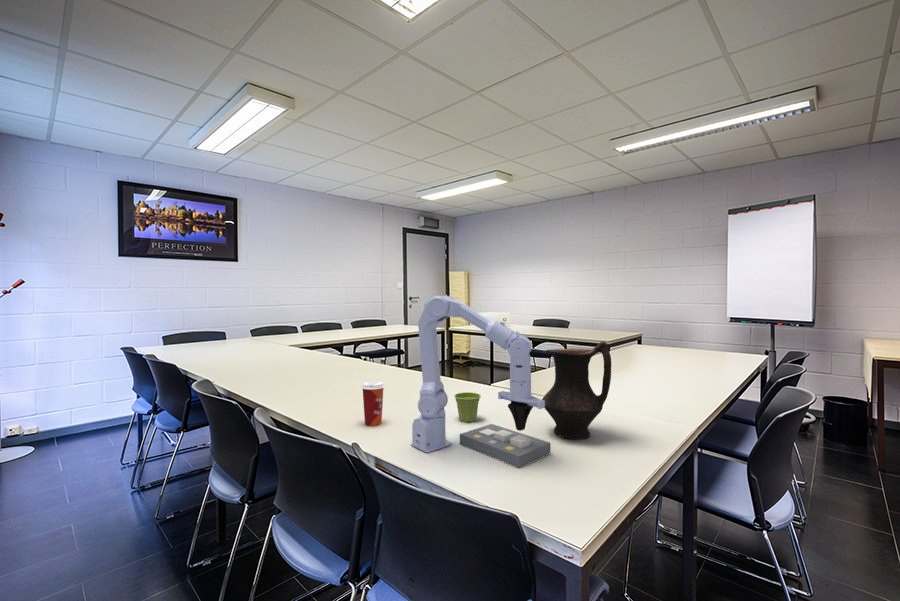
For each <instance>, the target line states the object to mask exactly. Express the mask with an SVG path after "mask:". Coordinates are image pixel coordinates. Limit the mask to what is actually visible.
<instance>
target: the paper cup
mask: <svg viewBox="0 0 900 601" xmlns="http://www.w3.org/2000/svg"><path fill="white" fill-rule="evenodd" d="M361 388H362V398H363V414H364V425H365V426H368V427H375V426H376V427H377V426H380V425H381V424H382V419H383V402H384V388H385V385H384V382H383V381H379V380H377V381H375V380H373V381H371V380H370V381H366V382H363V384H362V386H361Z"/></svg>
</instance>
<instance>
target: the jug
mask: <svg viewBox="0 0 900 601" xmlns="http://www.w3.org/2000/svg"><path fill="white" fill-rule="evenodd" d="M545 353H547V354H552V357H553V362H554V374H555V377H554V383H553V385H552V387H551V388H550V389H549V390H548V391H547V392H546V393H545V394H544V396H543V397H542V399H541V400H544V401H545V408H544V410H545V411H546V412H547V413H548V414H549V416H550V417H551V419H552V420H553V421H554V423H555V427H554V428H553V433H554V434H555V435H556V436H559V437H562V438H565V439H571V440H584V439H589V438H590V436H591V432H590V431H589V426H590V425H591V423H592V422H593V421H594V420H595V419H596V418H597V416H598V415H599V414H600V413H601V412H602V411H603V406H604V404H605V402H606V400H607V398H608V394H609V390H610V386H611V380H612V377H611V376H612V357H611V353H610V349H609V347H608V344H607V342H606V341H605V340H603V341H600V342H599V343H598V344H597V345H595V346H594V347H593V348H592V349H586V348H556V349H545ZM599 353H601V354H602V357H603V375H602V384H601V385H602V387H601V393H600V394H599V395H598V394H596V393H595V392H594V390H593V388H592V386H591V383H590V380H589V377H590V376H589V373H590V372H589V371H590V370H589V364H590V362H591V360H592V357H593V356H595V355H596V354H599Z"/></svg>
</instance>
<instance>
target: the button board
mask: <svg viewBox="0 0 900 601" xmlns="http://www.w3.org/2000/svg"><path fill="white" fill-rule="evenodd" d="M486 429H490V430H493V431H496V432H498V431H501V430H505V431H508V432H511V433H514V437H515V436H518V435H521V436H524V437H527V438H530V439H531V445H530V446H528V447H525V448H523V449H521V448H518V447H516V446H513V445H510V441H508V442H505V443H504V442H501V441H499V440H496V439H494V435H493V436H490V437H487V436H485V435H482V434H479V432H480V431H483V430H486ZM459 445H461V446H463V447H465V448H468V449H471V450H473V451H475V450H476V452H478V453H480V452H481V454H482V455H485V454H486V455H485V456H488V455H489V456H488V457H490V456H491V458H493V457H494V458H493V459H495V458H496V459H495V460H497V459H499V460H498V461H500V460H501V461H500V462H502V461H504V462H503V463H505V462H506V463H505V464H507V463H508V465H511V466H512V467H514V468H517V467H518V468H517V469H520V467H521V468H522V466H523V467H524V466H527V465H529V464H531V463H533V462H535V461H537V459H538V460H540V459H542V458H544V457H546V456H548V455H550V454H552V453H551V452H552V450H551V442H549V441H547V440H543V439H540V438H537V437H534V436H531V435H529V434H528V435H527V434H525V433H521V432H519V431H515V430H512V429H510V428H506V427H503V426H500V425H496V424H493V423H490V424H487V425H486V424H485V425H483V426H480V427H478V428H474V429H471V430H468V431H465V432H462V433H459ZM549 453H550V454H549ZM547 454H548V455H547ZM543 456H544V457H543ZM541 457H542V458H541ZM539 458H540V459H539Z"/></svg>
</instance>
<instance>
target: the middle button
mask: <svg viewBox="0 0 900 601" xmlns="http://www.w3.org/2000/svg"><path fill="white" fill-rule="evenodd" d="M513 437H514V433H511V432H508V431H505V430H501V431H498V432H495V433H494V439H496V440H499V441H501V442H504V443H505V442H508V441H510V438H513Z"/></svg>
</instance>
